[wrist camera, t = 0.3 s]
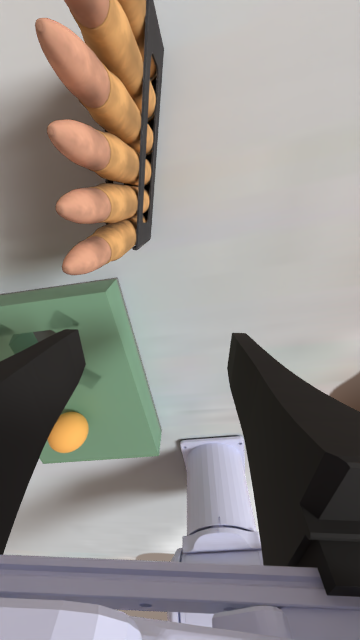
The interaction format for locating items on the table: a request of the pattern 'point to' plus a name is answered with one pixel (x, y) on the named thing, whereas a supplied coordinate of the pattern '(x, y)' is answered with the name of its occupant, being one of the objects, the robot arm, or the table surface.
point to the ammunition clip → (108, 121)
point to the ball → (68, 432)
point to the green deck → (90, 365)
